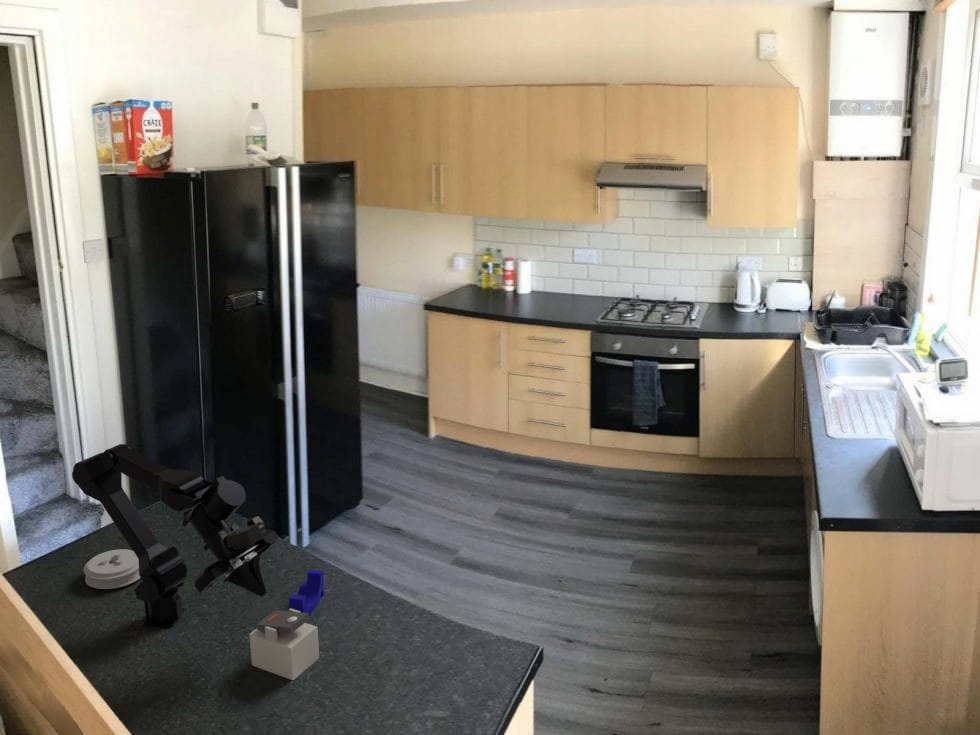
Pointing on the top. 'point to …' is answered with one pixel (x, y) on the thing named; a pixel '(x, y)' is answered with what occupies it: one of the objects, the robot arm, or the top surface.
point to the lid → (112, 569)
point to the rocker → (283, 621)
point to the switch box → (285, 650)
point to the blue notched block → (308, 593)
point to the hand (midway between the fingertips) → (264, 595)
